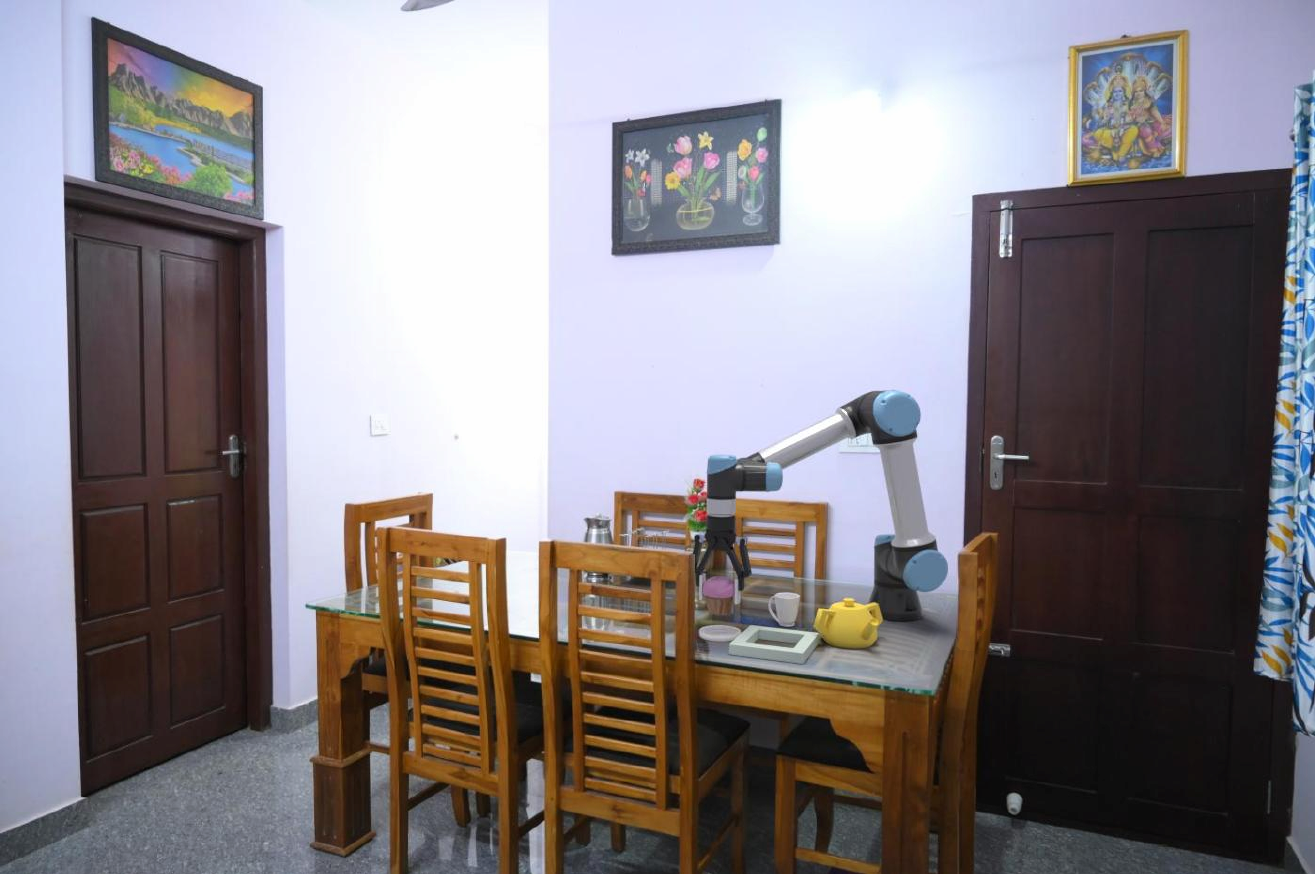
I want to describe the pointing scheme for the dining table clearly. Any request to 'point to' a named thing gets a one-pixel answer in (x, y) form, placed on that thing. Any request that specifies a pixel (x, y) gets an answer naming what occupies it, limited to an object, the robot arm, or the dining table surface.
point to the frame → (798, 654)
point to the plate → (719, 633)
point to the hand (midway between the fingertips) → (719, 600)
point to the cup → (785, 608)
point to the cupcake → (719, 595)
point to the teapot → (849, 624)
